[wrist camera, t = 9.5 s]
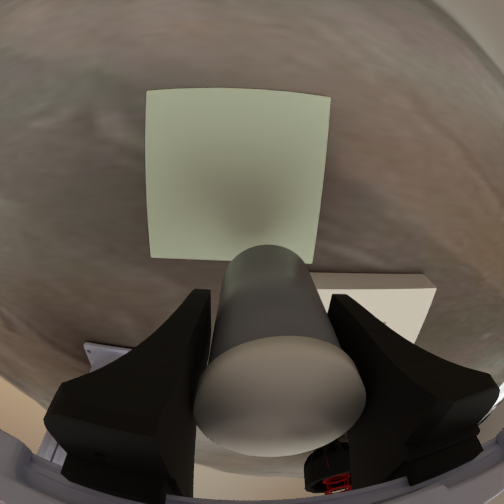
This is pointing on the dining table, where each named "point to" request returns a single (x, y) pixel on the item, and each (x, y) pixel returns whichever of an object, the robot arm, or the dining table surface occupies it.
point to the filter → (328, 469)
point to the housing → (383, 297)
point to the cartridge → (275, 362)
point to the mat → (233, 171)
